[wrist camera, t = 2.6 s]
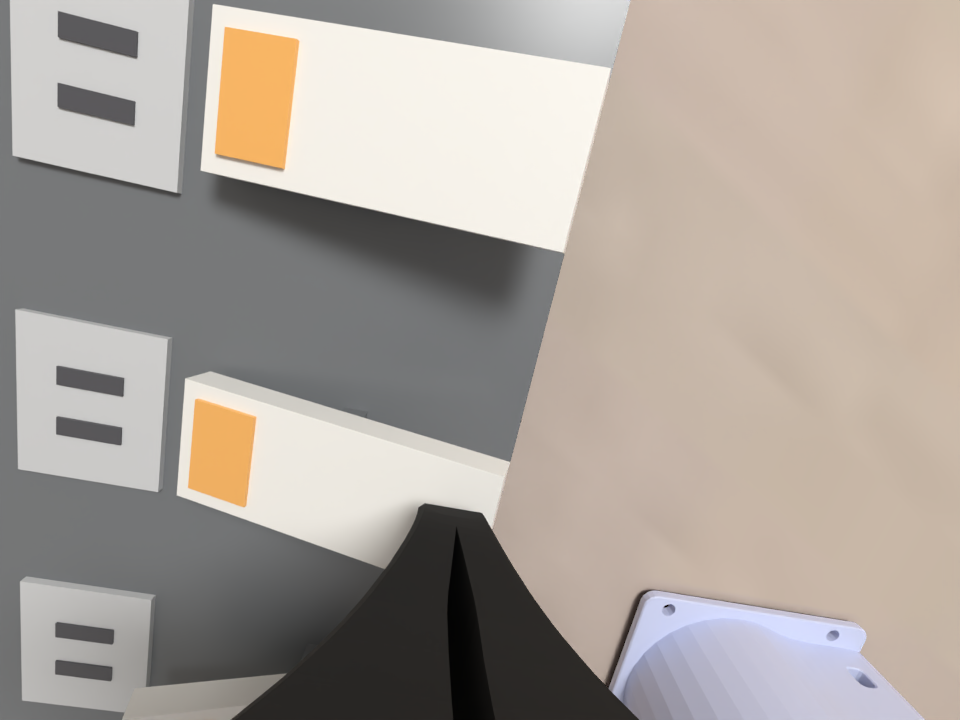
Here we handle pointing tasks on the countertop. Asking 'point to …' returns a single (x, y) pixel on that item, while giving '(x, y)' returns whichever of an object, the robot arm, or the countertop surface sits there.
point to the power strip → (214, 340)
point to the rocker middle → (322, 468)
